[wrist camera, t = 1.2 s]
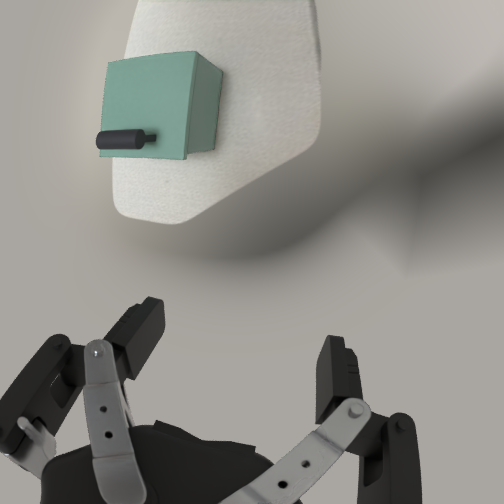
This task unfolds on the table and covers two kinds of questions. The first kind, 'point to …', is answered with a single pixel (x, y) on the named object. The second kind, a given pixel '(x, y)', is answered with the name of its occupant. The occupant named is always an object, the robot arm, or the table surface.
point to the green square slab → (148, 106)
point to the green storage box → (204, 106)
